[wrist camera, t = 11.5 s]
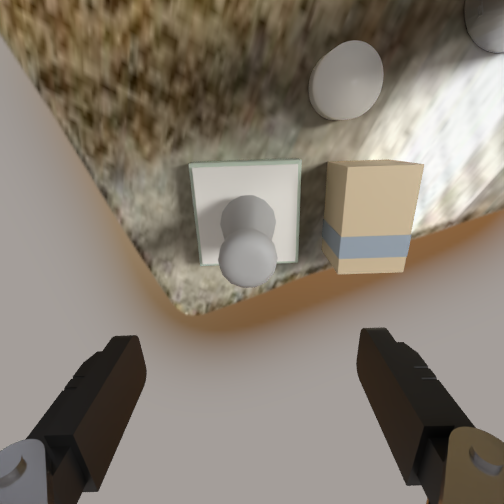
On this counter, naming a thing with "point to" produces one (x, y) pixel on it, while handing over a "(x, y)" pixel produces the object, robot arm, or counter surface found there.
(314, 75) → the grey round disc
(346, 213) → the kraft carton
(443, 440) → the robot arm
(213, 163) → the podium
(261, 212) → the salt shaker
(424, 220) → the counter surface
